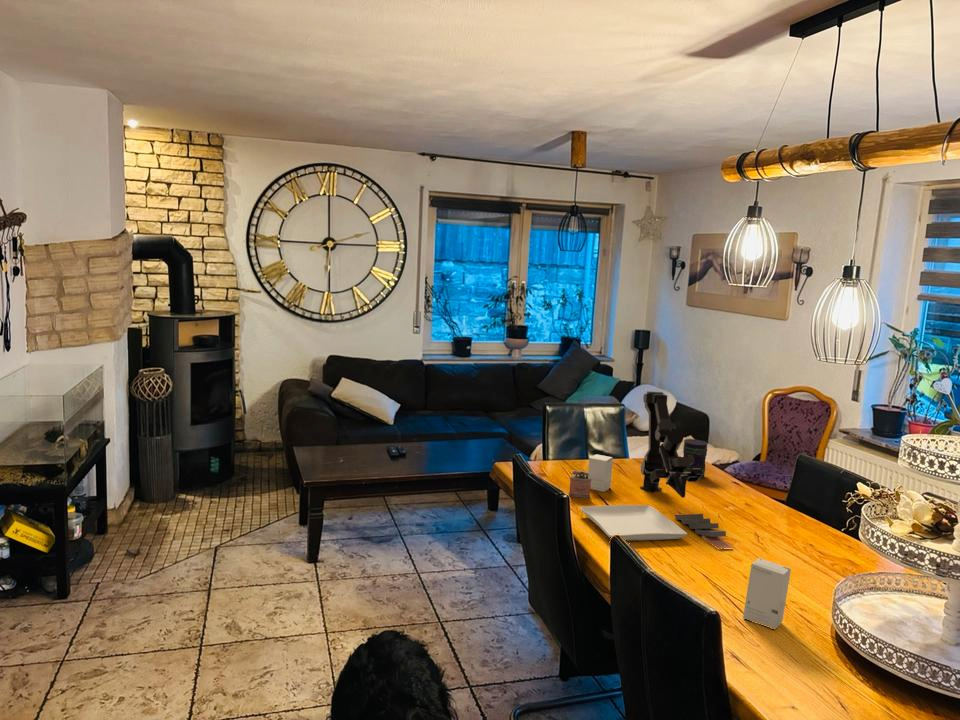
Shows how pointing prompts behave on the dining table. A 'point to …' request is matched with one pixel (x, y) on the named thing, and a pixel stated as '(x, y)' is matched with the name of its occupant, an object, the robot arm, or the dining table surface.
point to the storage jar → (695, 453)
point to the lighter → (580, 484)
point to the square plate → (633, 522)
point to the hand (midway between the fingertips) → (683, 497)
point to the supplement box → (600, 472)
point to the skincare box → (766, 593)
